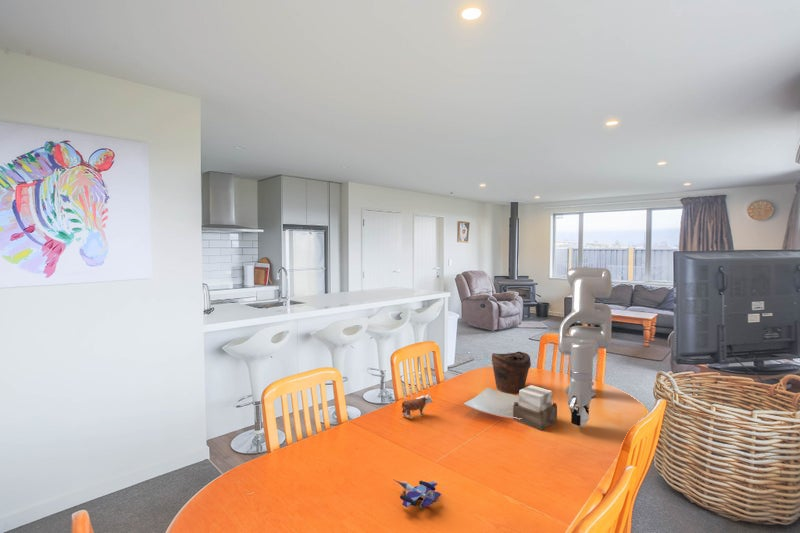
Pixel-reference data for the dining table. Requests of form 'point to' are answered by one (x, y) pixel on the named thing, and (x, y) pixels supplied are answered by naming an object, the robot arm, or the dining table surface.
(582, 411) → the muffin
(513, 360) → the brown plant pot
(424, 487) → the toy airplane
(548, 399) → the knobbed square box
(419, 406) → the bull figurine
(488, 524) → the dining table surface
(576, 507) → the dining table surface
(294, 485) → the dining table surface
